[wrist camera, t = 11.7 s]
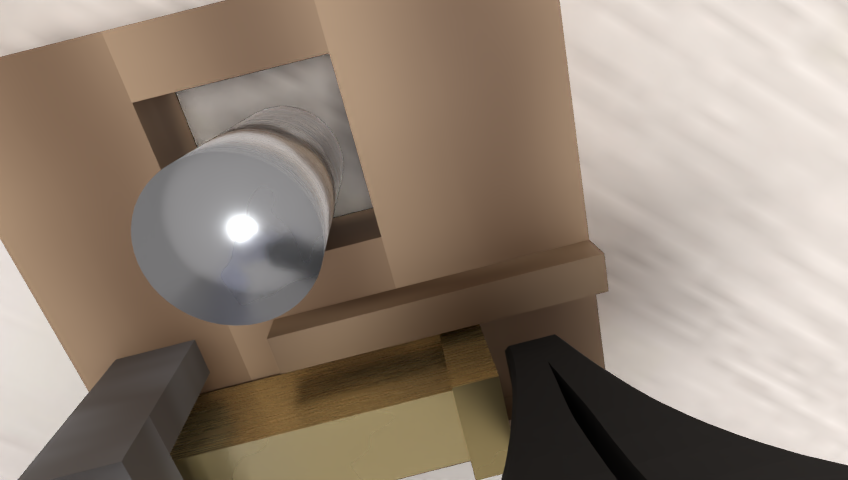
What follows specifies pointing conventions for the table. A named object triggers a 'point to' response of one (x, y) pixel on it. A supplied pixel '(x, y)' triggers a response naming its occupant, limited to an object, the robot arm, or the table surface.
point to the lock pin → (356, 417)
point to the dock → (349, 234)
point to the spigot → (242, 218)
